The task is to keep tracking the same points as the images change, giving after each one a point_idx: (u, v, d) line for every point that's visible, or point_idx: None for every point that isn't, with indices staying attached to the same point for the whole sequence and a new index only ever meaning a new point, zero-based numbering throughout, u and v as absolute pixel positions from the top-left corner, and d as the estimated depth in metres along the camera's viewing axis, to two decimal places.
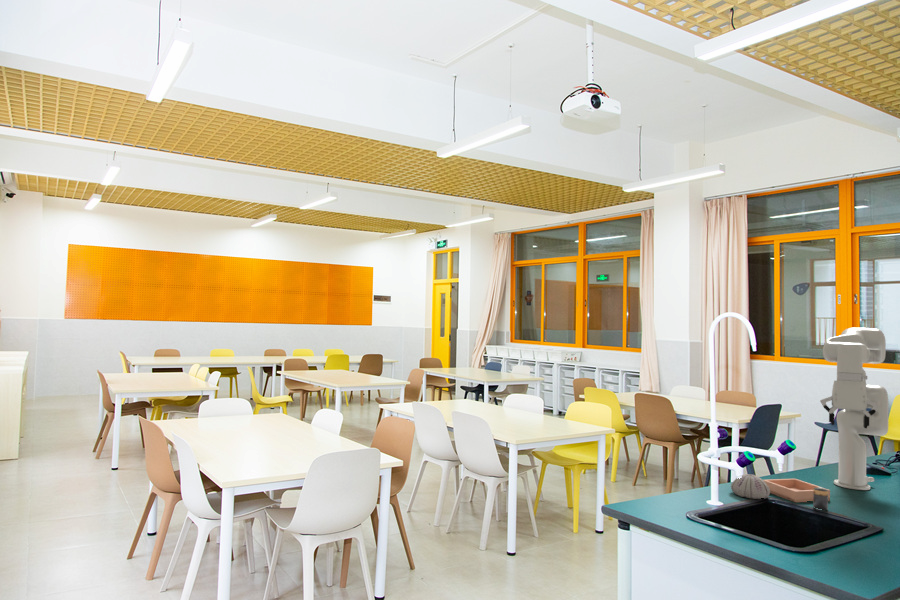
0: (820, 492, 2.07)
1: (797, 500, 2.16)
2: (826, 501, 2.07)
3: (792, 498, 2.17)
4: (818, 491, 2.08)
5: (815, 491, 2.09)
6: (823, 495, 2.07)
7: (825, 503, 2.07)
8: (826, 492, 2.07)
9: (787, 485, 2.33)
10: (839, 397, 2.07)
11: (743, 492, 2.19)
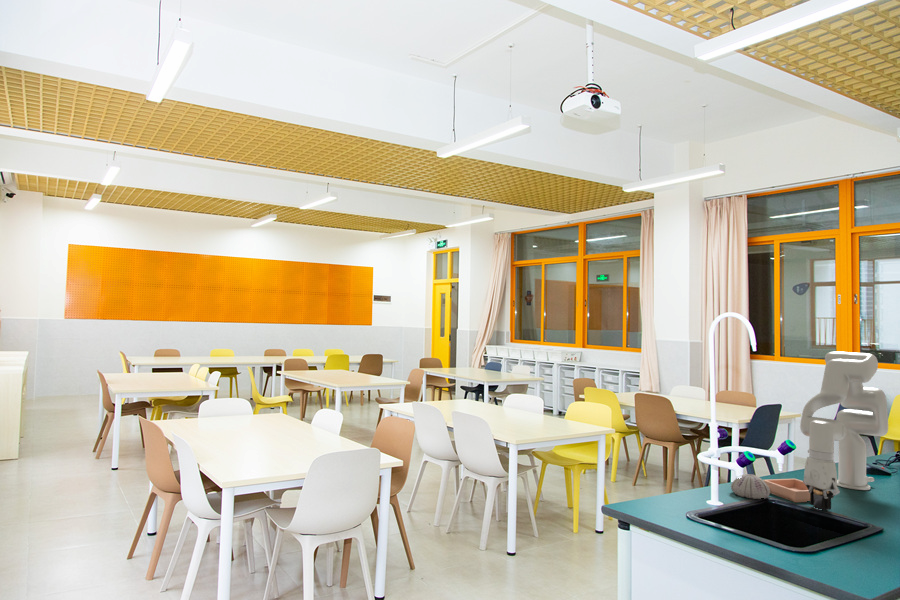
0: (820, 492, 2.07)
1: (797, 500, 2.16)
2: None
3: (792, 498, 2.17)
4: (818, 491, 2.08)
5: (815, 491, 2.09)
6: (823, 495, 2.07)
7: None
8: None
9: (787, 485, 2.33)
10: None
11: (743, 492, 2.19)
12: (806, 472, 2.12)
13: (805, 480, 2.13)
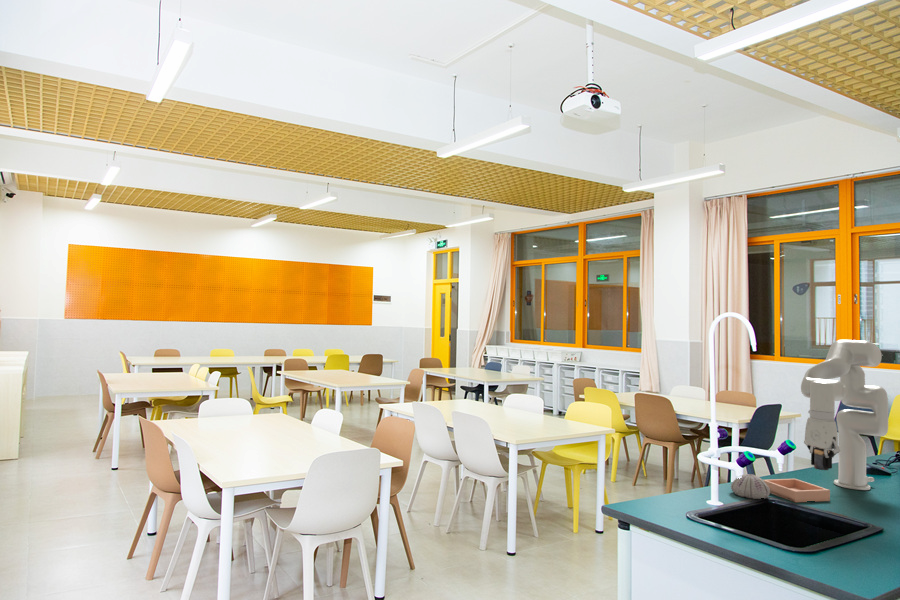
0: (821, 451, 2.08)
1: (797, 500, 2.16)
2: None
3: (792, 498, 2.17)
4: (819, 451, 2.09)
5: (816, 451, 2.10)
6: (824, 454, 2.08)
7: None
8: None
9: (787, 485, 2.33)
10: None
11: (743, 492, 2.19)
12: (807, 432, 2.13)
13: (806, 440, 2.13)
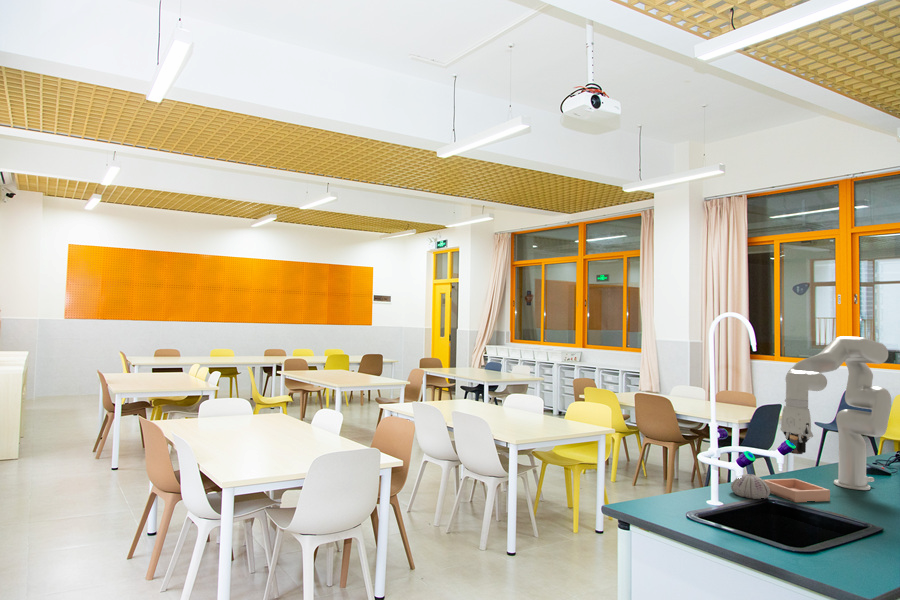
0: (795, 437, 2.25)
1: (797, 500, 2.16)
2: None
3: (792, 498, 2.17)
4: (794, 436, 2.25)
5: (791, 436, 2.26)
6: (798, 439, 2.24)
7: None
8: None
9: (787, 485, 2.33)
10: None
11: (743, 492, 2.19)
12: (783, 419, 2.29)
13: (782, 427, 2.30)
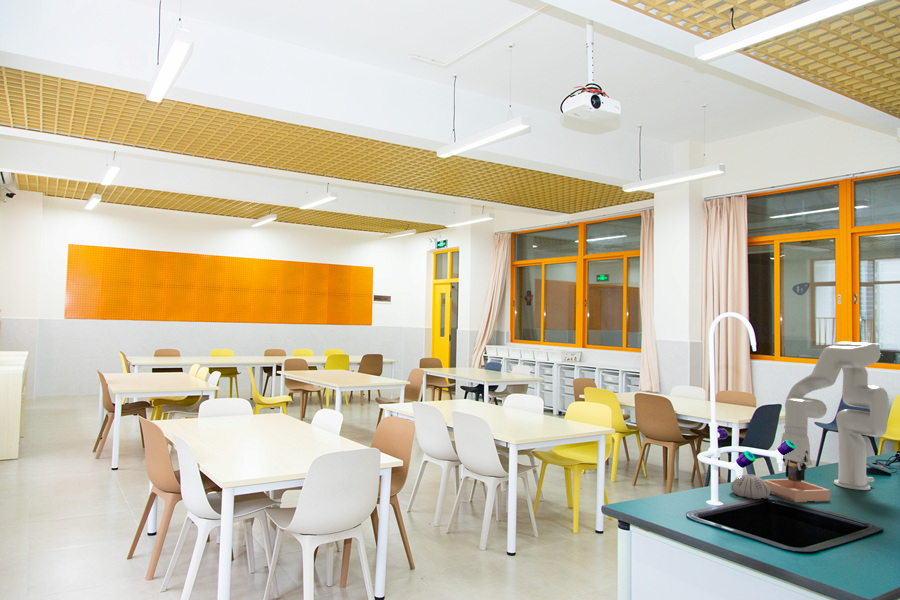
0: (794, 464, 2.24)
1: (797, 500, 2.16)
2: None
3: (792, 498, 2.17)
4: (792, 463, 2.25)
5: (790, 463, 2.26)
6: (797, 467, 2.24)
7: None
8: None
9: (787, 485, 2.33)
10: None
11: (743, 492, 2.19)
12: None
13: None
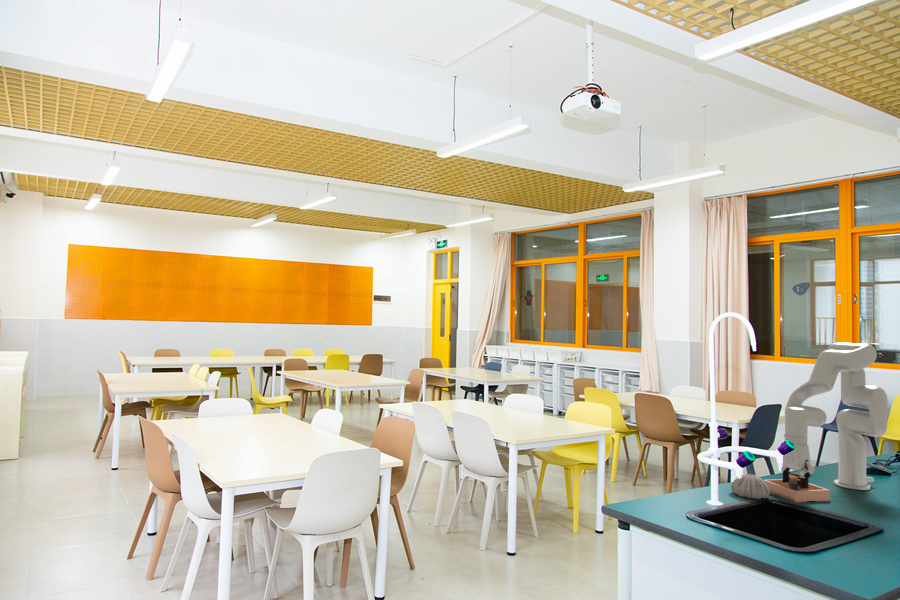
0: (795, 477, 2.24)
1: (797, 500, 2.16)
2: None
3: (792, 498, 2.17)
4: (793, 476, 2.25)
5: (790, 476, 2.25)
6: (797, 480, 2.24)
7: (799, 487, 2.24)
8: (800, 477, 2.24)
9: (787, 485, 2.33)
10: None
11: (743, 492, 2.19)
12: None
13: None
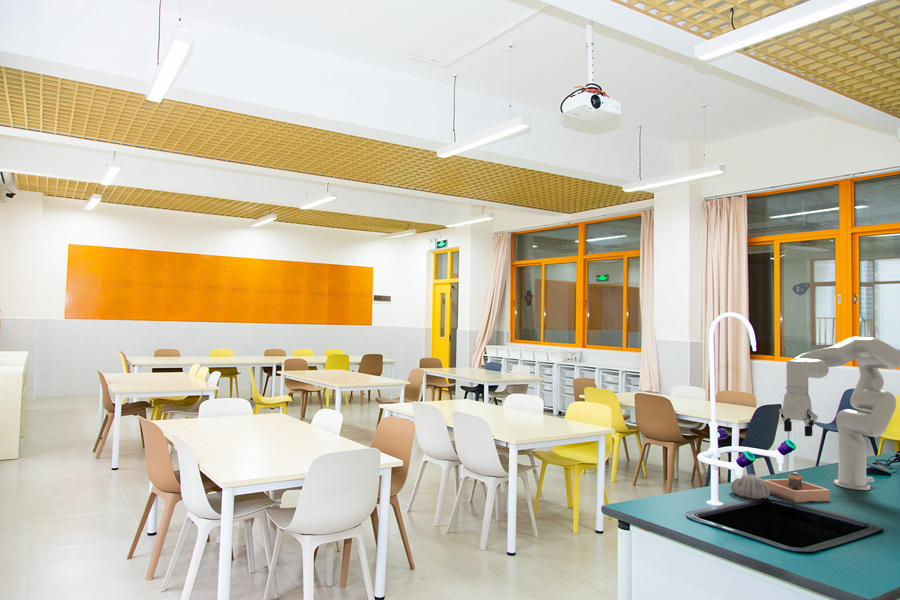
0: (794, 476, 2.24)
1: (797, 500, 2.16)
2: (800, 485, 2.24)
3: (792, 498, 2.17)
4: (792, 475, 2.25)
5: (790, 476, 2.26)
6: (797, 479, 2.24)
7: (799, 486, 2.24)
8: (800, 476, 2.24)
9: (787, 485, 2.33)
10: None
11: (743, 492, 2.19)
12: (785, 406, 2.37)
13: (784, 414, 2.37)
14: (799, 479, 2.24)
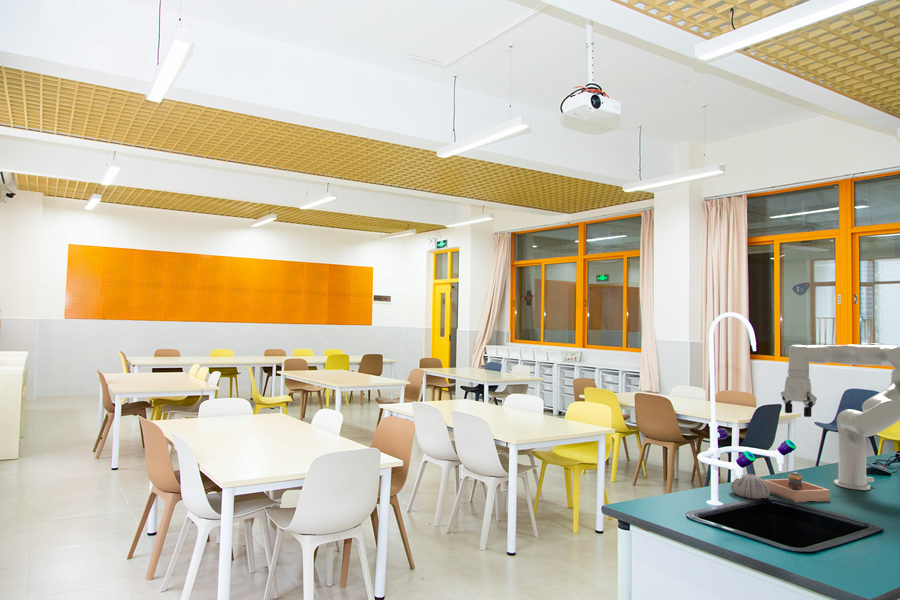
0: (794, 476, 2.25)
1: (797, 500, 2.16)
2: (800, 485, 2.24)
3: (792, 498, 2.17)
4: (792, 475, 2.25)
5: (789, 475, 2.26)
6: (796, 479, 2.24)
7: (799, 486, 2.24)
8: (799, 476, 2.24)
9: (787, 485, 2.33)
10: None
11: (743, 492, 2.19)
12: (786, 389, 2.50)
13: (785, 396, 2.50)
14: (799, 479, 2.24)
